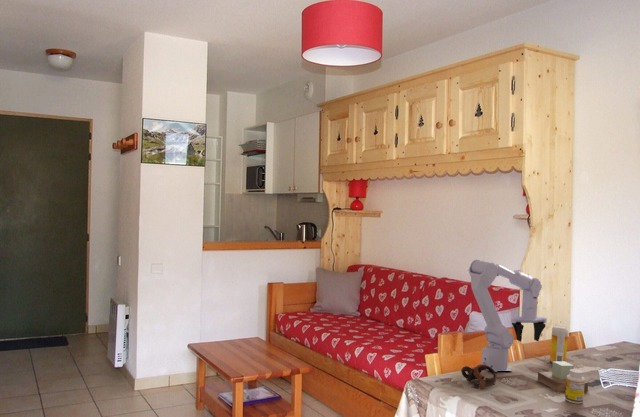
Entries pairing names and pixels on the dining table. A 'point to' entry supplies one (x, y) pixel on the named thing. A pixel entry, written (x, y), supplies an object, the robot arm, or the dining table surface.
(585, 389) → the walnut base
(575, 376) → the supplement bottle
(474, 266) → the robot arm
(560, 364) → the sage block
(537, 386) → the dining table surface
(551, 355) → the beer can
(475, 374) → the brown looped piece
